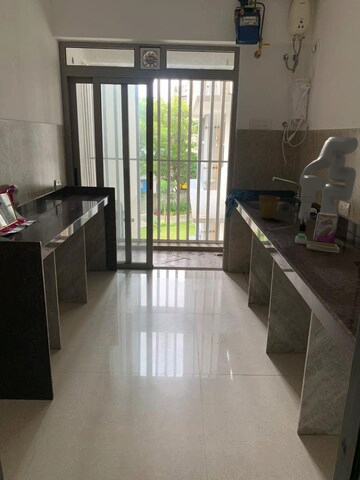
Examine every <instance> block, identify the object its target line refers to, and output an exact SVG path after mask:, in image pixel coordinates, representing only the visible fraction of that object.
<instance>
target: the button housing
mask: <svg viewBox="0 0 360 480" xmlns="http://www.w3.org/2000/svg"><path fill="white" fill-rule="evenodd" d="M306 241H308V239H307V236H305V239H304V238H298V235H295V238H294V242H295V244H302V245H306Z"/></svg>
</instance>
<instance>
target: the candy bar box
mask: <svg viewBox="0 0 360 480" xmlns="http://www.w3.org/2000/svg"><path fill="white" fill-rule="evenodd" d="M339 217H340V216H339V215H338V214H337V213H336V214H327V213H320V212H317V216H316V221H315V227H314V230H315V231H314V230H313V232H314V233H313V242H322V243H330V244H335V243H334V242H335V238H336V233H337V228H338V222H339V219H340V218H339Z"/></svg>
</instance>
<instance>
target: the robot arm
mask: <svg viewBox="0 0 360 480" xmlns="http://www.w3.org/2000/svg"><path fill="white" fill-rule="evenodd" d="M358 145H359V140H358V139H357V137H353V136H330V137H329V138H327V139H326V140H325V142H324V144H323V146H322V148H321V150H320V152H319V155H318V157H317V158H316V159H315V160H313V161H312V162H311V163H309V164H308V165H306V167H305V168H304V169H303V171H302V173H301V175H300V178H299V182H298V183H299V186H300V187H301V192H300V197H299V202H301V203H300V206H299V212H298V219H299V220H300V224H299V228H298V230H299V232H304V233H305V232H306V230H307V221H309V219H310V216H311V210H312V204H313V203H315V199H316V192H317V190H318V191H321V204H320V205H321V206H320V211H319V213H327V214H336V215H337V209H338V206H337V205H338V204H337V202H336V201H341V202H343V201H344V202H348V201H350V200H351V199H352V195H353V192H354V187H355V182H356V176H357V171H356V169H355V168H353V167H349V166H346V165H345V163H346V159H347V158H346V155H350V154H352V153H354V152H355V151H356V150H357V148H358ZM327 168H328V171H327V179H326V177H325V176H320V175H313V173H314V172H317V171H321V170H324V169H327ZM327 180H328V181H330V182H335V183H328V182H327ZM338 183H342V184H338ZM314 231H315V229H314V230H313V232H314Z"/></svg>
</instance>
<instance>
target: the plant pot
mask: <svg viewBox="0 0 360 480" xmlns="http://www.w3.org/2000/svg"><path fill="white" fill-rule="evenodd" d="M258 197H259V198H258V199H259V200H258V201H259V202H258V203H259V210H260V216H261V219H272V218H273V216H274V215H275V212H276V211H277V207H278V205H279V203H280V198H281V197H279V196H275V195H274V196H273V195H264V194H263V195H262V194H261V195H260V194H259V196H258Z"/></svg>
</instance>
